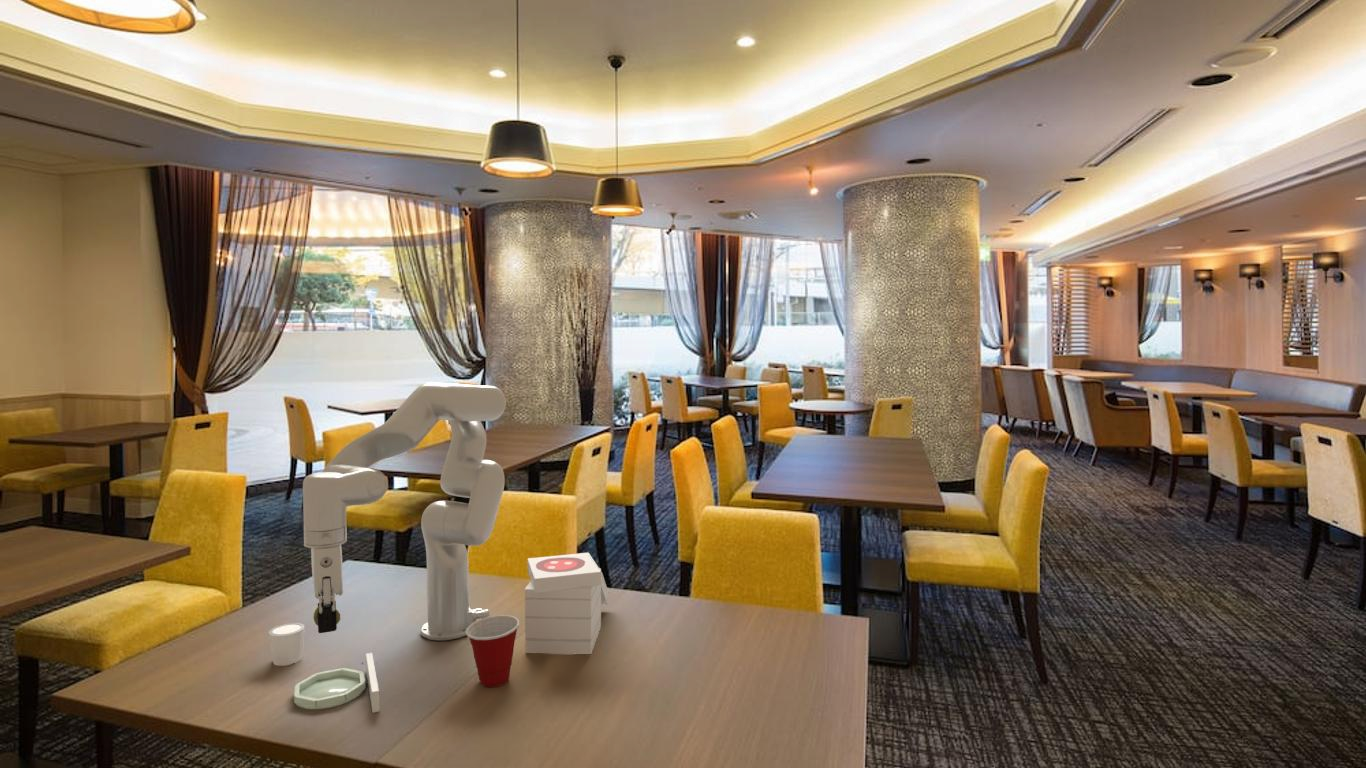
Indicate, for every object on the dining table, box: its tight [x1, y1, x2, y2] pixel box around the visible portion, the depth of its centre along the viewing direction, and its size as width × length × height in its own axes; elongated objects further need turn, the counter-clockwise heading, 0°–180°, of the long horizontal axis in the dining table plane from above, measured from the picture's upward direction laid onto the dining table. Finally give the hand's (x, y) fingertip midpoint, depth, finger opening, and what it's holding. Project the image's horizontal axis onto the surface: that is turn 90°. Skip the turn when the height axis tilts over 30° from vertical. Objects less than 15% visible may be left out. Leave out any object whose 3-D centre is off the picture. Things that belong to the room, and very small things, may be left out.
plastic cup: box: [465, 614, 520, 688], centre depth 144 cm, size 11×11×12 cm
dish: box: [293, 667, 367, 710], centre depth 140 cm, size 13×13×2 cm
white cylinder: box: [268, 622, 305, 667], centre depth 153 cm, size 7×7×7 cm
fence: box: [365, 652, 380, 714], centre depth 140 cm, size 1×18×4 cm, turn 28°
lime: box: [313, 605, 341, 627], centre depth 138 cm, size 4×5×5 cm
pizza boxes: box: [524, 552, 609, 655], centre depth 169 cm, size 19×30×18 cm, turn 178°
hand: (327, 625), depth 138 cm, fingers closed on lime, 4 cm apart
